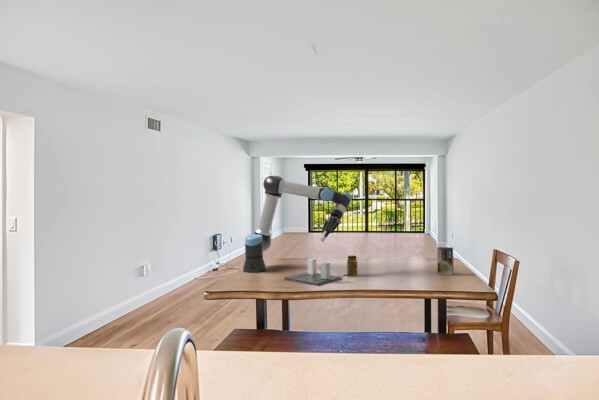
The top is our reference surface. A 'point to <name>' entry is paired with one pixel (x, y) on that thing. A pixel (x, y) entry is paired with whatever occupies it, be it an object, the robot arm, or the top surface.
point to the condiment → (351, 267)
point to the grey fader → (325, 270)
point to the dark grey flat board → (311, 279)
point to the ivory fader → (312, 266)
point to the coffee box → (445, 260)
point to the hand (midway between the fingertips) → (321, 240)
